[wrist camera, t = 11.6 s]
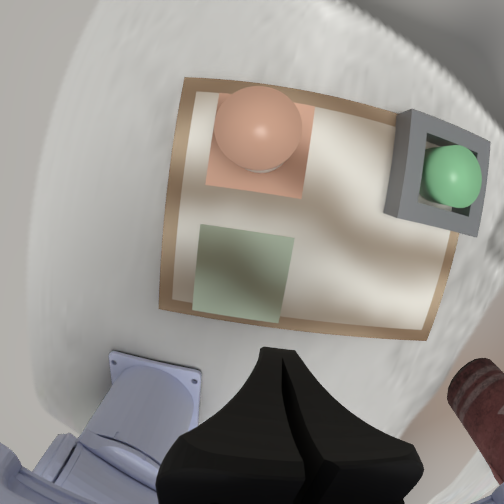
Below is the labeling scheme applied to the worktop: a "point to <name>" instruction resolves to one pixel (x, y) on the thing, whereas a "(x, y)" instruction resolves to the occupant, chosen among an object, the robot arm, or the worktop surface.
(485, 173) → the button housing
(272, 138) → the marker
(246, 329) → the worktop surface
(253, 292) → the board
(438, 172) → the button
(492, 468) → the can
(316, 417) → the robot arm
